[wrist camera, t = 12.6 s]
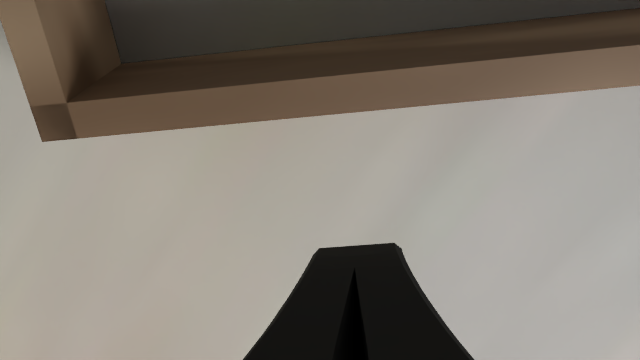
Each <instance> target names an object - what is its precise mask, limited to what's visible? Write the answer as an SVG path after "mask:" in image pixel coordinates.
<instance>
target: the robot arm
mask: <svg viewBox="0 0 640 360" xmlns="http://www.w3.org/2000/svg"><path fill="white" fill-rule="evenodd" d="M243 360H474V359H473V358H472V356H471V355H470V354H469V353H468V352H467V350H466V349H465V348H464V347H463V346H462V344H461V343H460V342H459V341H458V340H457V338H456V337H455V336H454V334H453V333H452V332H451V331H450V329H449V328H448V327H447V325H446V324H445V323H444V321H443V320H442V318H441V317H440V315H439V314H438V313H437V311H436V310H435V308H434V307H433V306H432V304H431V303H430V301H429V300H428V298H427V297H426V295H425V294H424V292H423V291H422V289H421V287H420V286H419V284H418V282H417V281H416V279H415V277H414V276H413V274H412V272H411V270H410V268H409V266H408V264H407V262H406V260H405V258H404V255H403V252H402V249H401V248H400V247H399V246H397V245H396V244H395V243H387V244H373V245H359V246H345V247H331V248H319V249H318V250H317V251H316V253H315V254H314V255H313V256H312V258H311V260H310V262H309V264H308V266H307V267H306V269H305V271H304V273H303V274H302V276H301V278H300V279H299V281H298V283H297V284H296V286H295V288H294V289H293V291H292V292H291V294H290V296H289V297H288V299H287V300H286V302H285V303H284V305H283V306H282V307H281V309H280V310H279V312H278V313H277V315H276V316H275V318H274V319H273V321H272V322H271V324H270V325H269V326H268V328H267V329H266V331H265V332H264V333H263V335H262V336H261V337H260V338H259V340H258V341H257V342H256V344H255V345H254V346H253V347H252V349H251V350H250V351H249V352H248V354H247V355H246V356H245V358H244V359H243Z"/></svg>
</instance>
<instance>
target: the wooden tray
mask: <svg viewBox="0 0 640 360" xmlns="http://www.w3.org/2000/svg"><path fill="white" fill-rule="evenodd" d="M0 19H1V22H2V25H3V28H4V31H5V34H6V37H7V40H8V43H9V46H10V49H11V52H12V55H13V58H14V61H15V63H16V66H17V69H18V72H19V75H20V78H21V81H22V84H23V87H24V90H25V93H26V96H27V99H28V102H29V104H30V107H31V110H32V113H33V116H34V119H35V122H36V125H37V128H38V131H39V134H40V137H41V140H42V142H46V141H56V140H67V139H77V138H88V137H98V136H109V135H120V134H130V133H141V132H151V131H162V130H173V129H183V128H194V127H204V126H215V125H226V124H236V123H247V122H257V121H268V120H278V119H289V118H300V117H310V116H321V115H331V114H342V113H353V112H363V111H374V110H384V109H395V108H406V107H416V106H427V105H437V104H448V103H458V102H469V101H480V100H490V99H501V98H511V97H522V96H533V95H543V94H554V93H564V92H575V91H586V90H596V89H607V88H617V87H628V86H639V85H640V8H636V9H627V10H618V11H608V12H599V13H590V14H580V15H571V16H562V17H552V18H543V19H534V20H524V21H515V22H506V23H496V24H487V25H478V26H468V27H459V28H450V29H440V30H431V31H422V32H412V33H403V34H394V35H384V36H375V37H366V38H356V39H347V40H338V41H329V42H319V43H310V44H301V45H291V46H282V47H273V48H263V49H254V50H245V51H235V52H226V53H217V54H207V55H198V56H189V57H179V58H170V59H161V60H151V61H142V62H133V63H123V64H121V61H120V57H119V53H118V49H117V46H116V42H115V38H114V34H113V30H112V27H111V23H110V19H109V15H108V12H107V8H106V4H105V0H0Z"/></svg>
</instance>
